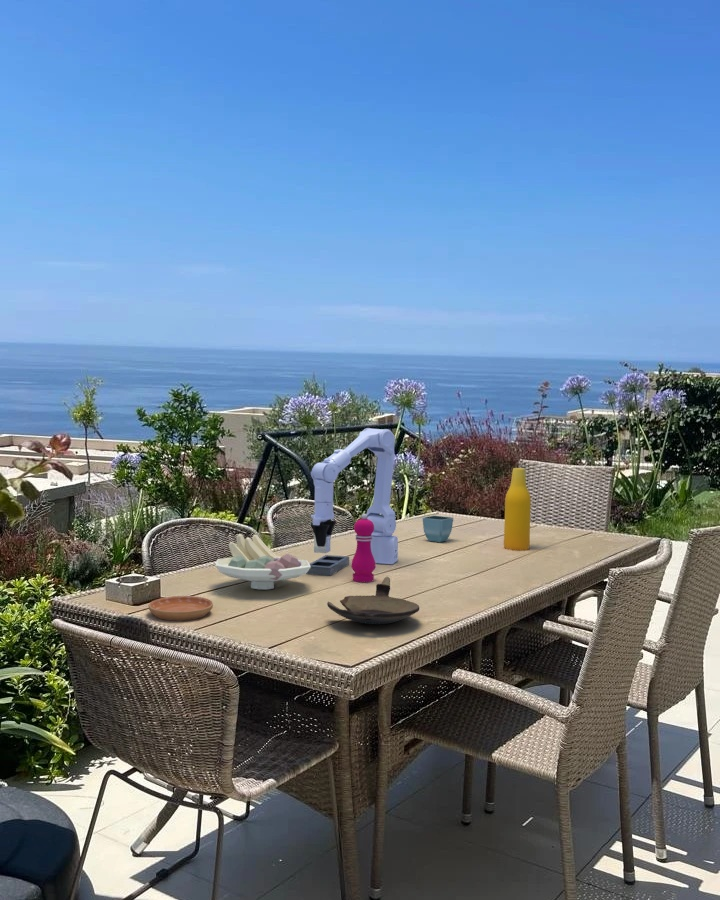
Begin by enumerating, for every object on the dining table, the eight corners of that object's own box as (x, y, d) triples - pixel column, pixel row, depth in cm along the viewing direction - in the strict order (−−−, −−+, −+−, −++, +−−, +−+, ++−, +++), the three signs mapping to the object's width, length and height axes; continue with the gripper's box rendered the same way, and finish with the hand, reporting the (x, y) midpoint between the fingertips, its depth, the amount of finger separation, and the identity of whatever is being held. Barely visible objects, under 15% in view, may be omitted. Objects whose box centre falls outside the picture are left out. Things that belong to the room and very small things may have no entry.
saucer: (210, 623, 221) (210, 610, 221) (143, 623, 220) (143, 611, 220) (215, 606, 237) (215, 595, 237) (153, 607, 236) (153, 595, 236)
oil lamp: (307, 626, 219) (308, 594, 219) (372, 602, 244) (373, 574, 244) (387, 641, 207) (387, 608, 207) (447, 614, 232) (447, 584, 232)
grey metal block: (330, 550, 283) (330, 533, 282) (326, 553, 279) (326, 535, 278) (318, 550, 284) (318, 533, 283) (313, 552, 280) (314, 535, 280)
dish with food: (250, 573, 277) (250, 527, 276) (329, 584, 265) (330, 536, 264) (193, 591, 253) (193, 541, 252) (277, 604, 240) (278, 551, 239)
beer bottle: (534, 549, 327) (537, 469, 325) (516, 551, 322) (518, 470, 320) (516, 545, 335) (519, 466, 333) (498, 547, 330) (500, 467, 327)
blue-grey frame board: (349, 564, 294) (349, 556, 294) (330, 575, 276) (330, 567, 276) (325, 562, 296) (325, 555, 296) (305, 573, 278) (305, 565, 278)
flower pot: (433, 538, 347) (433, 515, 346) (453, 541, 342) (454, 517, 341) (421, 541, 340) (421, 517, 339) (441, 544, 335) (442, 519, 334)
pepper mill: (363, 576, 276) (364, 511, 275) (380, 580, 271) (381, 514, 269) (346, 579, 271) (347, 513, 270) (363, 583, 266) (364, 516, 264)
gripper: (319, 498, 288) (318, 540, 289) (303, 503, 274) (303, 548, 275) (340, 499, 286) (339, 541, 287) (325, 505, 272) (325, 549, 273)
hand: (323, 545), depth 281 cm, fingers closed on grey metal block, 4 cm apart
